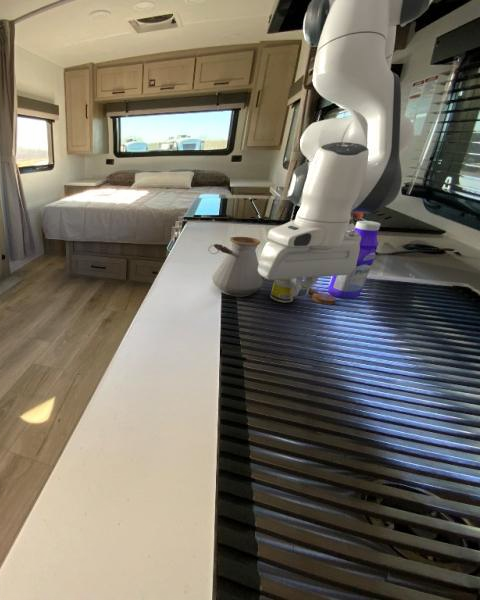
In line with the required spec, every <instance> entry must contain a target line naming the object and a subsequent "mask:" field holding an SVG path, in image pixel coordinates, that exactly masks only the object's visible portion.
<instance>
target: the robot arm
mask: <svg viewBox="0 0 480 600" xmlns="http://www.w3.org/2000/svg"><path fill="white" fill-rule="evenodd" d="M433 1H434V0H310V2H309V4H308V5H307V9H306V12H305V14H304V18H303V23H302V24H303V25H302V31H303V32H302V33H303V36H304V40H305V43H306V44H307V45H308V46H310V47H312V48H313V47H315V48H316V47H317V49H316V53H315V57H314V63H313V69H312V85H313V87H314V89H315V91H316V92H317V93H318V94H319V95H320V96H321V98H323V99H325V100H326V101H328V102H331V103H333V104H335V105H336V106H338V107H339V108H341V109H343V110H345V111H346V112H347V113H348V114H349V115H350V116H349V117H332V118H327V119H323V120H319V121H315V122H312V123H311V124H310V125H308V126H307V128H306V129H305V130H304V131H303V133H302V135H301V137H300V141H299V142H300V143H299V147H300V151H301V153H302V155H303V156H304V157H305V158H306V159H307V161H306V162H304V163H302V164H301V165H299V166H298V167H297V168H295V169H294V170H293V171H292V174H291V180H290V184H289V187H288V191H287V193H286V197H287V198H288V200H289V201H290V202H291V203H292V204H293V205H294V206H298V207H299V209H298V211H297V213H296V215H295V218H294V219H293V220H291V221H288V222H286V223H284V224H280V225H278V226H274V227H273V228H270V229H269V231H268V233H267V239H269V241H267V242H266V243H265V245H264V246H263V249H262V252H261V255H260V258H259V260H258V264H259V265H258V272H259V274H260V275H261V277H262V278H264V279H266V280H269V281H274V280H278V279H289V281H290V284H291V290H290V294H291V295H293V296H294V297H301V296H302V297H303V296H308V294H309V293H308V292H309V289H310V288H311V289H312V287H313V286H315V284H316V283H318V280H319V278H320V277H332V276H338V275H349V274H351V273H352V272H353V271H354V269H355V267H356V263H357V260H358V256H359V250H360V245H359V244H360V241H361V236H360V234H359V233H358V232H357V231H354V229H355V226H356V224H354V222H355V221H354V219H357V220H361V219H363V217H364V214H367V215H370V214H373V213H376V212H378V211H380V210H382V209H383V208H385V207H387V206H388V205H390V204H391V203H393V202H394V201H395V200H396V199H397V197H398V195H399V193H400V191H401V186H402V182H403V180H402V179H403V176H402V175H403V174H402V173H403V172H402V165H401V157H400V155H401V154H402V153H403V152H405V151H406V150H407V149H408V148H409V146H410V145H411V143H412V141H413V139H414V136H415V126H414V123H413V122H412V120H411V119H410V118H409V117H407V116H406V115H404V114H403V113H402V87H401V86H402V85H401V80H400V77H399V76H400V75H398V74H397V73H395V72H394V71H392V70H391V69H392V62H393V55H394V52H395V51H394V50H395V46H396V45H395V44H396V36H397V35H396V34H397V25H399V26H400V27H401V28H403V27H405V26H407V24H409V23H411V22H413V21H415V20H416V19H418V18H420V17H421V16H422V15H423V14H424V13H425V12H426V11H428V10H429V8H430V5H431V4H432V2H433ZM438 248H439V249H440V250H443V251H442V252H451V253H453V254H455V255H456V256H462V253H460V251H458V252H452V251H454V250H456V249H454V248H451V247H450V248H449V247H438ZM377 249H378V245H377V246H376V247H375V255H377V256H378V255H386V256H389V255H390V256H391V255H392V256H395V255H401V254H403V255H404V254H413V253H433V252H441V251H440V250H417V249H409V250H397V251H396V250H395V251H390V252H383V253H380V252H377ZM303 279H304V280H303ZM299 282H300V283H302V284H301V285H299Z"/></svg>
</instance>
